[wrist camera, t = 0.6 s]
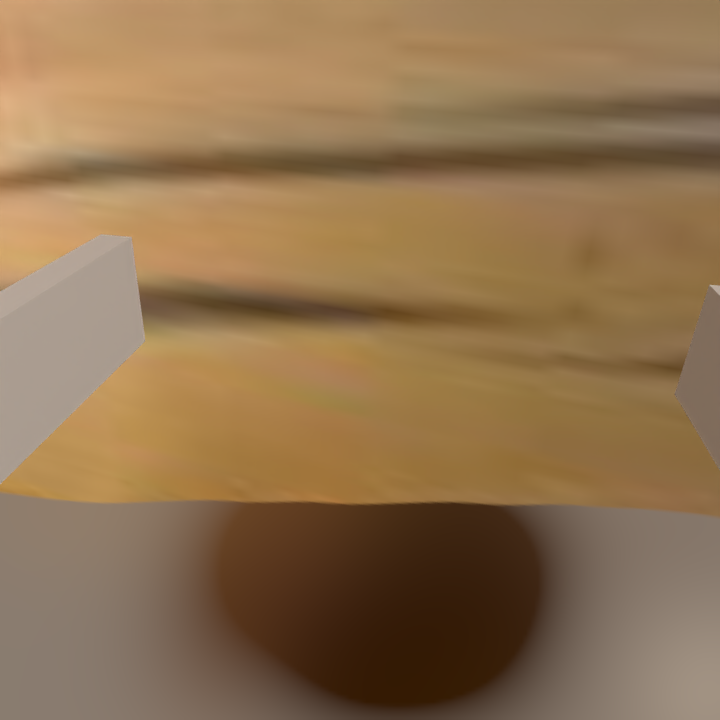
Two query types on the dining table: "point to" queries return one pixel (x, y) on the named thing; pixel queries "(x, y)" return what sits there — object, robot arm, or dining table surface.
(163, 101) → the dining table surface
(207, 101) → the dining table surface
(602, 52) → the dining table surface
